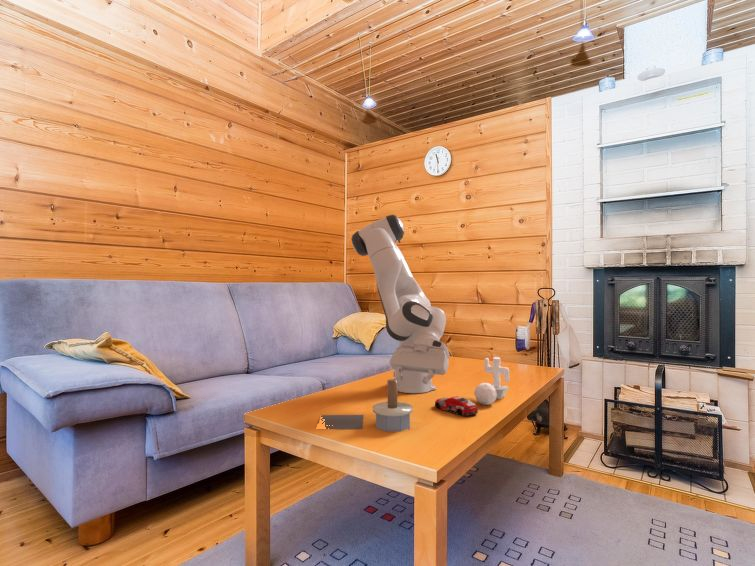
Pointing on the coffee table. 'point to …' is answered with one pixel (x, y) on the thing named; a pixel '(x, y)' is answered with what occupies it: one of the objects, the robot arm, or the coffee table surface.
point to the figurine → (497, 375)
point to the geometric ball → (485, 393)
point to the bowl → (393, 422)
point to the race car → (457, 405)
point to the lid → (392, 403)
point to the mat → (343, 421)
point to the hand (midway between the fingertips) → (411, 381)
